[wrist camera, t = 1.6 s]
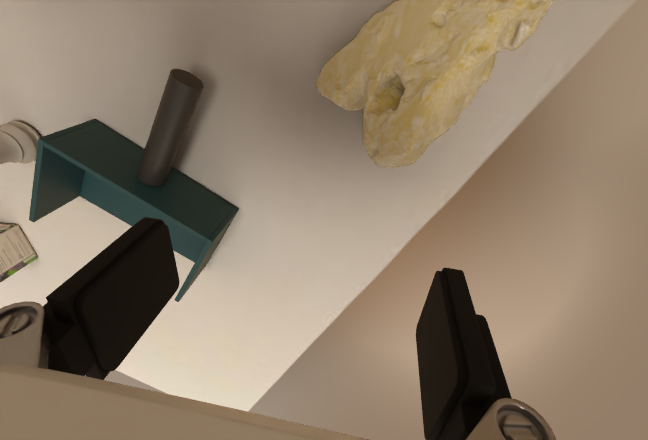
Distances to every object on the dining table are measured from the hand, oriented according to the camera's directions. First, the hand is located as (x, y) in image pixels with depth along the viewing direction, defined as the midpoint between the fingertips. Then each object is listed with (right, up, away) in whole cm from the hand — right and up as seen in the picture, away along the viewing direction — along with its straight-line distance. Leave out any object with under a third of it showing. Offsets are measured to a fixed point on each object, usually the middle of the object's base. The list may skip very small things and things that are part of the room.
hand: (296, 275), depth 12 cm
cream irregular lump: (+9, +16, +14) cm, 23 cm away
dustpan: (-15, +8, +24) cm, 29 cm away
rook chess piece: (-32, +11, +25) cm, 42 cm away
